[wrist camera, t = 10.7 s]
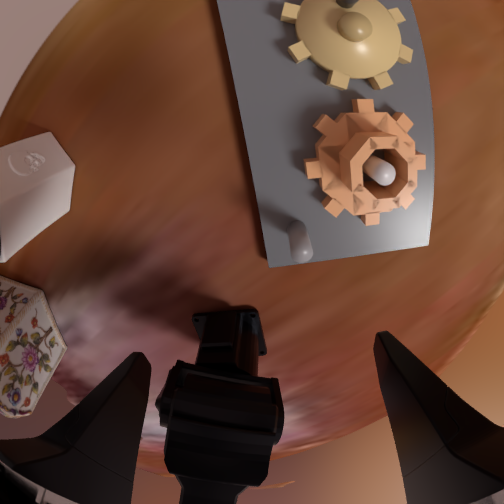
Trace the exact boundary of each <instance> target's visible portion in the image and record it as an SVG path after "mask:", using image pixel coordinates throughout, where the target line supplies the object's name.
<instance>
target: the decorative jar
mask: <svg viewBox="0 0 504 504" xmlns="http://www.w3.org/2000/svg"><path fill="white" fill-rule="evenodd" d="M66 350H67V346H66V344H65V342H64V340H63V338H62V335H61V333H60V331H59V329H58V327H57V324H56V322H55V320H54V317H53V315H52V312H51V310H50V307H49V305H48V302H47V300H46V297H45V294H44V292H43V291H42V290H40V289H37V288H34V287H31V286H28V285H25V284H22V283H19V282H17V281H14V280H11V279H8V278H5V277H3V276H1V275H0V413H1V414H2V415H4V416H6V417H9V418H19V417H21V416H26V415H30V414H32V412H33V410H34V408H35V406H36V404H37V402H38V400H39V398H40V396H41V394H42V392H43V391H44V389H45V387H46V385H47V384H48V382H49V380H50V378H51V377H52V375H53V373H54V371H55V369H56V367H57V366H58V364H59V362H60V360H61V358H62V357H63V355H64V353H65V351H66Z"/></svg>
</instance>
